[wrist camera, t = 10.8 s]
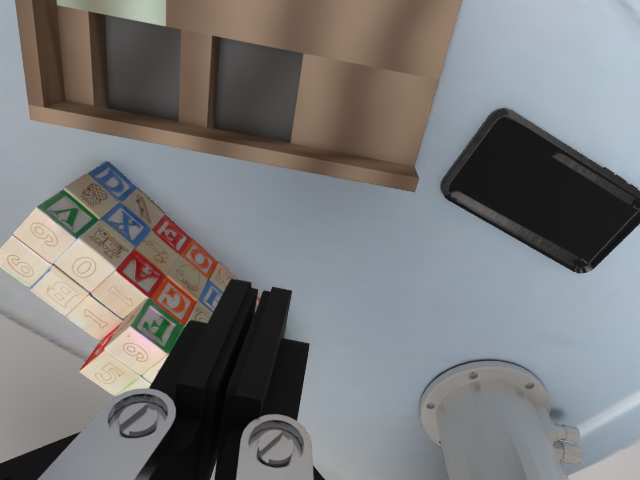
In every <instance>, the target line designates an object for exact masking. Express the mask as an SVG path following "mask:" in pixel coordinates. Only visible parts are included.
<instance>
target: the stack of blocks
mask: <svg viewBox="0 0 640 480" xmlns="http://www.w3.org/2000/svg"><path fill="white" fill-rule="evenodd" d="M0 268H1V269H3V270H4V271H5V272H7V273H8V274H10V275H11V276H12V277H14V278H15V279H16V280H18V281H19V282H20V283H22V284H23V285H24V286H26V287H29V288H30V290H31V292H33V293H34V294H35V295H37V296H38V297H39V298H41V299H42V300H43V301H45V302H46V303H48V304H49V305H50V306H52V307H53V308H54V309H56V310H57V311H58V312H60V313H61V314H63V315H65V316H66V317H67V318H68V319H69V320H70V321H72V322H73V323H74V324H76V325H77V326H79V327H80V328H81V329H83V330H84V331H86V332H87V333H89V334H90V335H91V336H93V337H94V338H96V339H99V340H102V341H101V342H100V343H99V344H98V345H97V347H96V348H95V350H94V351H93V353H92V354H91V355H90V357H89V358H88V359H87V361H86V362H85V364H84V365H83V366H82V368H81V369H80V373H82V374H83V375H85V376H86V377H87V378H89V379H90V380H92V381H93V382H95V383H96V384H97V385H99V386H100V387H102V388H103V389H105V390H106V391H108V392H109V393H110V394H112V395H114V396H118V395H120V394H122V393H124V392H126V391H130V390H134V389H142V388H149V387H150V385H151V384H152V382H153V380H154V379H155V377H156V375H157V373H158V372H159V370H160V368H161V367H162V365H163V363H164V362H165V360H166V358H167V357H168V355H169V353H170V352H171V350H172V348H173V347H174V345H175V343H176V342H177V340H178V338H179V336H180V335H181V333H182V331H183V330H184V328H185V326H186V325H187V323H188V322H189V321H190V320H195V321H200V322H205V323H208V321H209V319H210V317H211V315H212V313H213V312H214V310H215V308H216V306H217V304H218V302H219V300H220V298H221V296H222V294H223V293H224V291H225V289H226V287H227V285H228V283H229V281H230V280H231V279H236V280H238V279H237V278H236V277H235V276H234V275H233V274H232V273H231V272H230V271H229V270H228V269H226V268H225V267H224V266H223V265H222V264H221V263H220V262H217V261H216V260H215V259H214V258H213V257H212V256H210V255H209V254H208V253H207V252H206V251H205V250H204V249H203V248H202V247H201V246H199V245H198V244H197V243H196V242H195V241H194V240H192V239H190V237H189V236H188V235H186V234H185V233H184V232H183V231H182V230H181V229H180V228H179V227H178V226H177V225H175V224H174V223H173V222H172V221H171V220H170V219H169V218H168V217H166V216H165V214H164V212H163V211H162V210H160V209H159V208H158V207H157V206H156V205H155V204H154V203H153V202H152V201H151V200H149V199H148V198H147V197H146V196H145V195H144V194H143V193H142V192H141V191H140V190H138V189H137V188H136V187H135V186H134V185H133V184H132V183H131V182H130V181H128V180H127V179H126V178H125V177H124V176H123V175H122V174H121V173H120V172H118V171H117V170H116V169H115V168H114V167H113V166H112V165H111V164H109V163H108V162H105V163H103V164H102V165H100V166H99V167H97V168H95V169H94V170H92V171H90V172H89V173H88V174H85V175H84V176H82V177H80V178H79V179H77V180H76V181H74V182H72V183H71V184H69V185H68V186H66V187H65V188H64V189H63V190H62V191H60V192H58V193H57V194H55V195H54V196H52V197H51V198H49V199H48V200H46V201H45V202H43V203H42V204H40V205H39V206H38V207H36V209H35V210H34V211H33V212H32V213H31V214H30V215H29V216H28V217H27V219H26V220H25V221H24V222H23V223H22V224H21V225H20V226H19V227H18V229H17V230H16V231H15V232H14V235H13V236H12V237H11V238H10V239H9V240H8V241H7V242H6V243H5V244H4V245H3V246H2V248H1V249H0ZM259 301H260V299H259V298H258V297H257V301H256V308H255V312H256V309H257V306H258V304H259ZM285 330H286V327H285ZM284 336H285V333H284ZM216 461H217V460H216Z"/></svg>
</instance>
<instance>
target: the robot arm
mask: <svg viewBox="0 0 640 480" xmlns="http://www.w3.org/2000/svg"><path fill="white" fill-rule="evenodd" d="M257 294H258V289H254V288H251V282H246V281H241V280H236V279H231V280H230V281H229V283H228V285H227V287H226V289H225V291H224V293H223V294H222V296H221V298H220V300H219V302H218V304H217V306H216V308H215V310H214V312H213V313H212V315H211V317H210V319H209V321H208V323H205V322H200V321H195V320H190V321H189V322H188V323H187V325H186V326H185V328H184V330H183V331H182V333H181V335H180V336H179V338H178V340H177V342H176V343H175V345H174V347H173V348H172V350H171V352H170V353H169V355H168V357H167V358H166V360H165V362H164V363H163V365H162V367H161V368H160V370H159V372H158V373H157V375H156V377H155V379H154V380H153V382H152V384H151V385H150V387H149V388H142V389H134V390H130V391H126V392H124V393H122V394H120V395H118V396H116V397H114V398H113V399H112V400H111V401H109V402H108V403H107V404H106V405H105V406H104V407H103V408H102V409H101V411H100V412H99V413H98V414H97V415H96V416H95V417H94V418H93V419H92V420H91V422H90V423H89V424H88V425H87V426H86V427H85V428H84V429H83V431H81V432H79V433H76V434H74V435H71V436H69V437H66V438H64V439H61V440H58V441H56V442H53V443H51V444H48V445H46V446H43V447H41V448H38V449H36V450H33V451H31V452H28V453H26V454H23V455H21V456H18V457H15V458H13V459H10V460H8V461H5V462H3V463H0V480H210V478H211V475H212V472H213V469H214V466H215V463H216V460H217V463H216V472H215V480H325V479H324V478H323V477H322V476H321V474H320V473H319V472H318V471H317V470H316V468H315V467H314V466H313V459H312V444H311V440H310V436H309V434H308V432H307V431H306V429H305V428H304V427H303V426H302V425H301V424H300V423H299V422H298V421H297V418H298V412H299V406H300V400H301V394H302V388H303V381H304V375H305V369H306V363H307V357H308V351H309V345H310V344H309V343H304V342H299V341H294V340H289V339H284V333H285V327H286V322H287V316H288V311H289V305H290V300H291V294H292V291H291V290H286V289H281V288H276V287H272V289H271V292H269V291H263V293H262V296H261V298H260V301H259V304H258V306H257V309H256V312H255V308H256V301H257ZM419 411H420V419H421V423H422V427H423V429H424V431H425V433H426V434H427V436H428V437H429V438H430V439H431V440H432V441H433V442H434V443H436V444H437V445H438V446H440V447H442V450H443V455H444V460H445V465H446V470H447V474H448V479H449V480H568V477H567V475H566V473H565V471H564V469H563V467H562V465H561V462H565V463H571V464H579V463H580V462H581V459H582V452H581V449H580V447H579V445H578V444H575V443H570V442H564V441H559V440H558V441H555V440H556V438H558V439H561V440H565V441H571V442H578V441H579V438H580V433H579V430H578V429H577V428H576V427H570V426H564V425H561V426H560V425H555V423H554V422H553V421H551V419H550V417H549V414H550V402H549V397H548V395H547V393H546V391H545V388H544V387H543V385H542V384H541V382H540V381H539V379H538V378H536V377H535V376H534V375H533V374H532V373H531V372H529V371H527V370H526V369H524V368H522V367H519V366H517V365H514V364H511V363H506V362H500V361H480V362H472V363H468V364H464V365H460V366H458V367H455V368H453V369H451V370H448V371H447V372H445V373H444V374H442V375H440V376H439V377H438V378H436V379H435V380H434V381H433V382H432V383H431V384H430V385H429V386H428V388H427V389H426V390H425V392H424V394H423V396H422V398H421V401H420V407H419Z"/></svg>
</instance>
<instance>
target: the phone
mask: <svg viewBox="0 0 640 480" xmlns="http://www.w3.org/2000/svg"><path fill="white" fill-rule="evenodd" d="M626 182H627V181H625V180H624V179H622V178H621V177H619V176H617V175H614V173H613V172H612V171H610V170H608V169H607V168H602V167H601V166H599V165H597V164H596V163H594V162H593V161H591V160H590V159H588V158H586V157H585V156H583V155H582V154H580V153H578V152H577V151H575V150H574V149H572V148H571V147H569V146H567V145H566V144H564V143H563V142H561V141H560V140H558V139H556V138H555V137H553V136H552V135H550V134H548V133H547V132H545V131H544V130H542V129H541V128H539V127H537V126H536V125H534V124H533V123H531V122H530V121H528V120H526V119H525V118H523V117H522V116H520V115H518V114H517V113H515V112H514V111H512V110H510V109H507V108H501V109H497V110H496V111H494V112H492V113H491V114H490V115H489V116H488V118H487V119H486V120H485V122H484V123H483V124H482V126H481V127H480V129H479V130H478V131H477V133H476V134H475V135H474V137H473V138H472V140H471V141H470V142H469V144H468V145H467V146H466V148H465V149H464V150H463V152H462V153H461V155H460V156H459V157H458V159H457V160H456V161H455V163H454V164H453V165H452V167H451V168H450V170H449V171H448V172H447V174H446V175H445V176H444V178H443V180H442V182H441V191H442V193H443V195H444V196H445V198H446V199H448V200H449V201H451V202H452V203H454V204H456V205H458V206H459V207H461V208H463V209H465V210H466V211H468V212H470V213H472V214H473V215H475V216H477V217H479V218H480V219H482V220H484V221H486V222H487V223H489V224H491V225H493V226H495V227H496V228H498V229H500V230H502V231H503V232H505V233H507V234H509V235H510V236H512V237H514V238H516V239H517V240H519V241H521V242H523V243H524V244H526V245H528V246H530V247H531V248H533V249H535V250H537V251H538V252H540V253H542V254H544V255H545V256H547V257H549V258H551V259H552V260H554V261H556V262H558V263H559V264H561V265H563V266H565V267H566V268H568V269H570V270H572V271H573V272H576V273H587V272H589V271H591V270H593V269H594V268H595V267H596V266H597V265H598V264H599V263H600V262H601V261H602V260H603V259H604V258H605V257H606V256H607V255H608V254H609V253H610V252H611V251H612V250H613V249H614V248H615V247H616V246H617V245H618V244H620V243H621V242H622V241H623V240H624V239H625V238H626V237H627V236H628V235H629V234H630V233H631V232H632V231H633V230H634V229H635V228H636V227H637V226H638V225H639V224H640V191H639V190H637V188H636V187H634V186H633V185H629V184H627V183H626Z"/></svg>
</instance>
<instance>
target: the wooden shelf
mask: <svg viewBox="0 0 640 480" xmlns="http://www.w3.org/2000/svg"><path fill="white" fill-rule="evenodd" d="M461 2H462V0H15V3H16V11H17V19H18V26H19V34H20V42H21V50H22V58H23V66H24V73H25V81H26V89H27V97H28V105H29V113H30V120H34V121H39V122H44V123H50V124H55V125H60V126H66V127H71V128H76V129H82V130H87V131H92V132H97V133H103V134H108V135H113V136H119V137H124V138H129V139H135V140H140V141H145V142H151V143H156V144H161V145H167V146H172V147H177V148H183V149H188V150H193V151H199V152H204V153H209V154H214V155H220V156H225V157H230V158H236V159H241V160H246V161H252V162H257V163H262V164H268V165H273V166H278V167H284V168H289V169H294V170H300V171H305V172H310V173H315V174H321V175H326V176H331V177H337V178H342V179H347V180H353V181H358V182H363V183H369V184H374V185H379V186H385V187H390V188H395V189H401V190H406V191H411V192H415V190H416V187H417V183H418V180H419V177H418V175H417V172H416V170H415V167H414V166H415V162H416V159H417V155H418V152H419V148H420V145H421V141H422V138H423V134H424V131H425V127H426V124H427V120H428V117H429V113H430V110H431V106H432V103H433V99H434V96H435V92H436V89H437V85H438V82H439V78H440V75H441V71H442V68H443V64H444V61H445V57H446V54H447V50H448V47H449V44H450V40H451V37H452V33H453V30H454V26H455V23H456V19H457V16H458V12H459V9H460V5H461Z"/></svg>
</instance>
